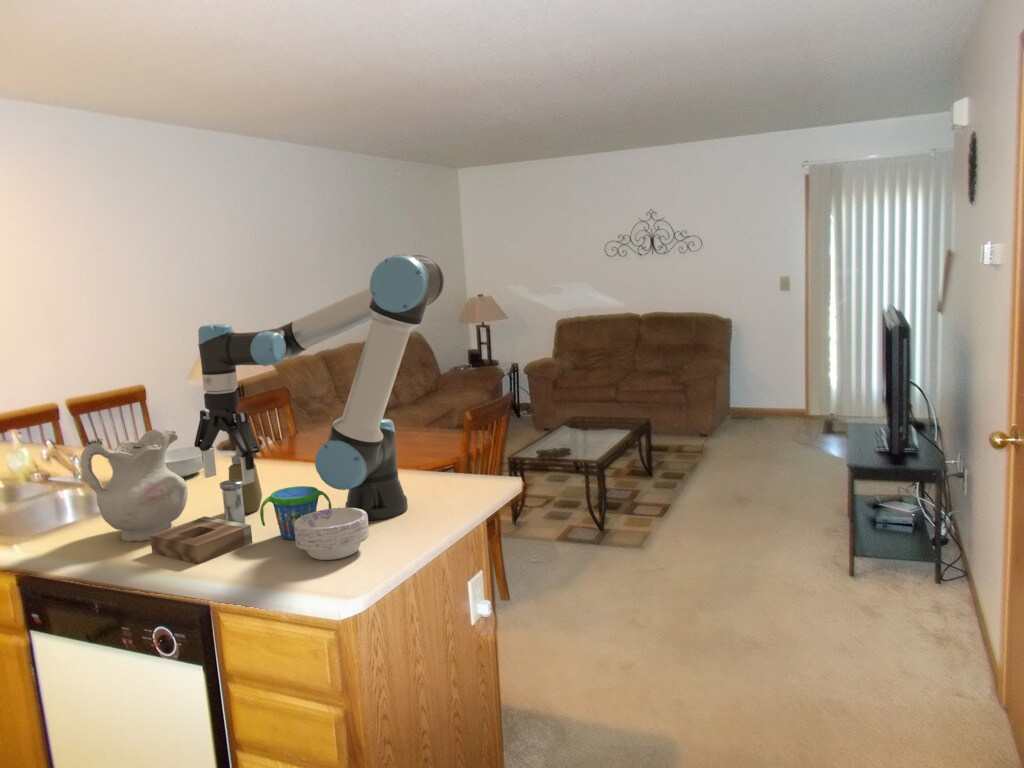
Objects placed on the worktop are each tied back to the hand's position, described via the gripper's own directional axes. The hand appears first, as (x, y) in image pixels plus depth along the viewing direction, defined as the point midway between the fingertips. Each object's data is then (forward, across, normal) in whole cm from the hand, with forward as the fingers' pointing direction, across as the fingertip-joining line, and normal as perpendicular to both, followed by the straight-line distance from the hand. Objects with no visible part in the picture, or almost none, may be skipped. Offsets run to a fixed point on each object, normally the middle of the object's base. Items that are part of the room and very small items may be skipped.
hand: (229, 479), depth 187 cm
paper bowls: (+11, +36, -3) cm, 37 cm away
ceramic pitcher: (+12, -16, -13) cm, 24 cm away
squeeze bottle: (+12, -8, +10) cm, 17 cm away
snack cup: (+12, +20, +2) cm, 23 cm away
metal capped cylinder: (+12, 0, 0) cm, 12 cm away
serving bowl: (+13, -60, +26) cm, 66 cm away
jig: (+12, +6, -14) cm, 19 cm away
